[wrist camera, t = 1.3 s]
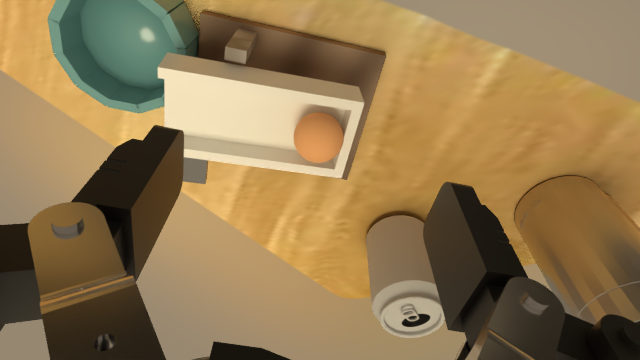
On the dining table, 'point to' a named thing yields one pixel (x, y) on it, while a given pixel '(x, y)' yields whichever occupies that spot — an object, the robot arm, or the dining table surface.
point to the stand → (292, 57)
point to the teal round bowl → (121, 47)
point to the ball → (318, 137)
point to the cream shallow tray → (251, 115)
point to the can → (402, 278)
